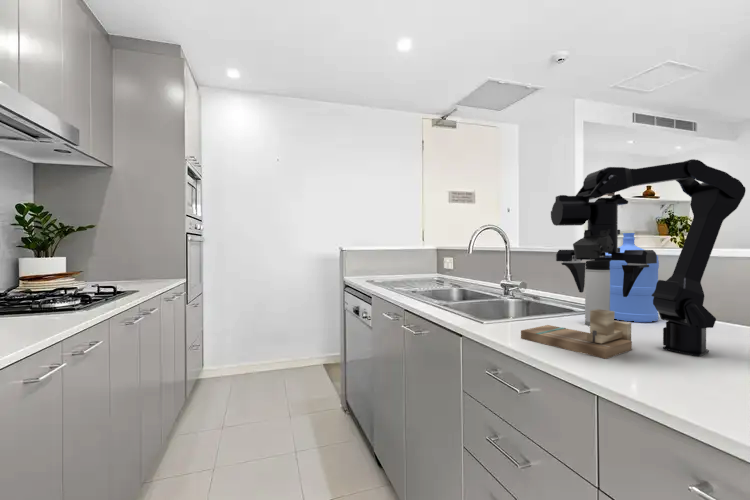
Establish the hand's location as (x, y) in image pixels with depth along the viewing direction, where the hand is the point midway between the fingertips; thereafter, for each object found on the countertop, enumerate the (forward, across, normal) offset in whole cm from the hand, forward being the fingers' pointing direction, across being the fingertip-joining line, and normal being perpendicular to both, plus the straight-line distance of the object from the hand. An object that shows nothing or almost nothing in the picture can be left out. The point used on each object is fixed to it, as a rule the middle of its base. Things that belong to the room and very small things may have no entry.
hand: (602, 294), depth 81 cm
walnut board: (+13, -6, 0) cm, 14 cm away
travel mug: (+13, -14, +27) cm, 33 cm away
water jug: (+13, -14, +47) cm, 50 cm away
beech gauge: (+12, 0, +2) cm, 12 cm away
